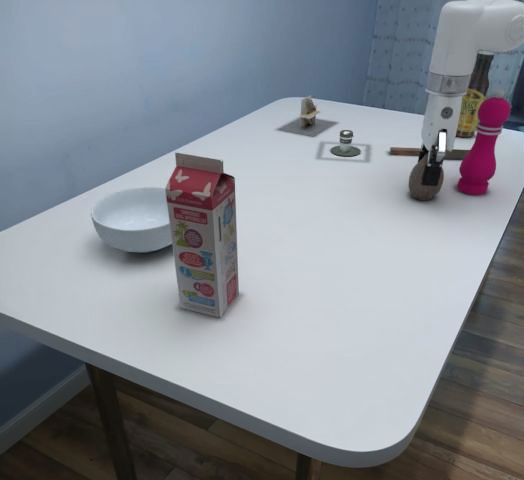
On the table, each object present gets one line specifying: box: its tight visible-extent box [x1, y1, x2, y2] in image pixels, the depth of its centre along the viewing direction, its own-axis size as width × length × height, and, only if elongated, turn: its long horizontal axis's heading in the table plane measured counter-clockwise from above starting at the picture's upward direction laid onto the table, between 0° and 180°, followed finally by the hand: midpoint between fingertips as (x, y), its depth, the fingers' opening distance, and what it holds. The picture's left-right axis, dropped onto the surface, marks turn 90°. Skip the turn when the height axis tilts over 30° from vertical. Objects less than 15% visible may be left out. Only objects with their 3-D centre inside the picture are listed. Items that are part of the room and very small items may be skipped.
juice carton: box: [164, 151, 240, 319], centre depth 69 cm, size 7×7×22 cm
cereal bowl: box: [90, 186, 172, 254], centre depth 88 cm, size 17×17×7 cm
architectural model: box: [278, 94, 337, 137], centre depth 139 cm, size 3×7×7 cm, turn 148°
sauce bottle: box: [456, 50, 496, 138], centre depth 130 cm, size 6×6×20 cm
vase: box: [407, 153, 445, 201], centre depth 103 cm, size 7×7×9 cm
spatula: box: [389, 146, 471, 161], centre depth 124 cm, size 21×6×1 cm, turn 84°
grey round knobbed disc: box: [329, 129, 362, 157], centre depth 125 cm, size 12×12×5 cm
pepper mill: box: [456, 88, 512, 196], centre depth 102 cm, size 7×7×20 cm
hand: (426, 177), depth 103 cm, fingers closed on vase, 6 cm apart
